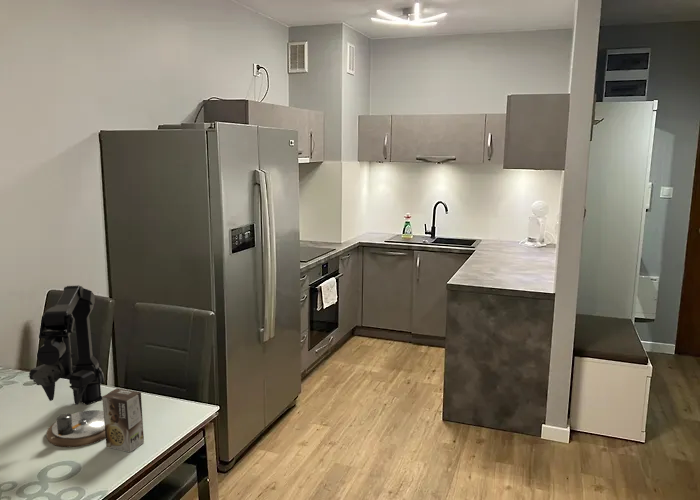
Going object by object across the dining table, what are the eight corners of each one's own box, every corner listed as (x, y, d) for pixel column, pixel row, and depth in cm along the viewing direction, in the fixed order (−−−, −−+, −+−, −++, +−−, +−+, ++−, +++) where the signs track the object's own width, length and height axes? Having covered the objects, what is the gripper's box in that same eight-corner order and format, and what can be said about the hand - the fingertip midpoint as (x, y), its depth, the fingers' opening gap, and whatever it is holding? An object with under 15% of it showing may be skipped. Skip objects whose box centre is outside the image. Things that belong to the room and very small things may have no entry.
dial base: (96, 409, 189) (96, 405, 188) (130, 427, 177) (130, 422, 177) (34, 433, 173) (34, 428, 172) (68, 454, 161) (67, 449, 161)
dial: (84, 409, 185) (82, 392, 184) (124, 418, 179) (123, 401, 178) (39, 433, 170) (37, 414, 169) (81, 444, 164) (80, 425, 163)
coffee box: (145, 442, 168) (142, 391, 165) (130, 453, 162) (127, 400, 159) (120, 437, 171) (117, 387, 168) (104, 447, 165) (101, 395, 162)
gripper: (11, 358, 159) (16, 409, 161) (65, 365, 153) (69, 419, 156) (42, 345, 169) (46, 394, 172) (94, 352, 164) (97, 402, 167)
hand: (64, 402), depth 166 cm, fingers open, 9 cm apart
